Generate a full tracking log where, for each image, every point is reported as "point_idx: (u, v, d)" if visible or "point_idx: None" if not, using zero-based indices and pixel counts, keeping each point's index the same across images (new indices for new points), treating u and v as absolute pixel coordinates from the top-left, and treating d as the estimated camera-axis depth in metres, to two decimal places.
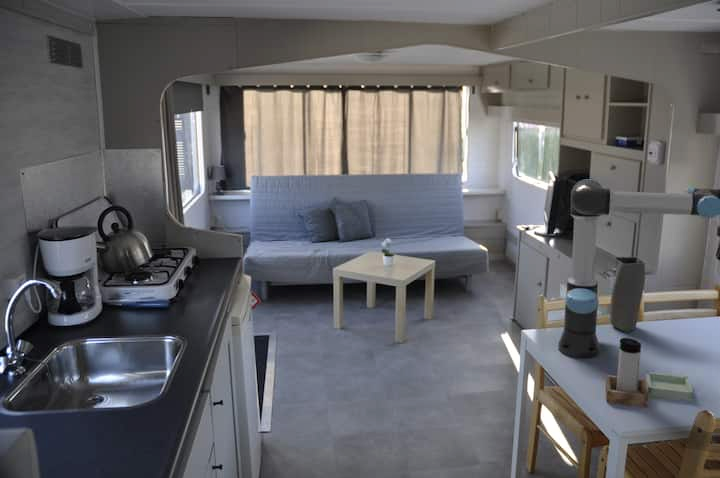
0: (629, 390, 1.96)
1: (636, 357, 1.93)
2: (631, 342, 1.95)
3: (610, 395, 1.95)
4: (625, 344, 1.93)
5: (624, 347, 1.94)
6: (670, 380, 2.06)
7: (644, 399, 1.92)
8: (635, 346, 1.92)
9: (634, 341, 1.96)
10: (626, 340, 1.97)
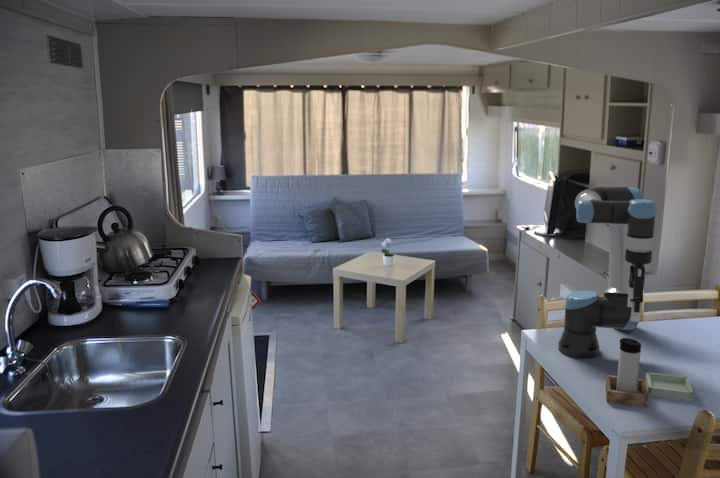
0: (629, 390, 1.96)
1: (636, 357, 1.93)
2: (631, 342, 1.95)
3: (610, 395, 1.95)
4: (625, 344, 1.93)
5: (624, 347, 1.94)
6: (670, 380, 2.06)
7: (644, 399, 1.92)
8: (635, 346, 1.92)
9: (634, 341, 1.96)
10: (626, 340, 1.97)
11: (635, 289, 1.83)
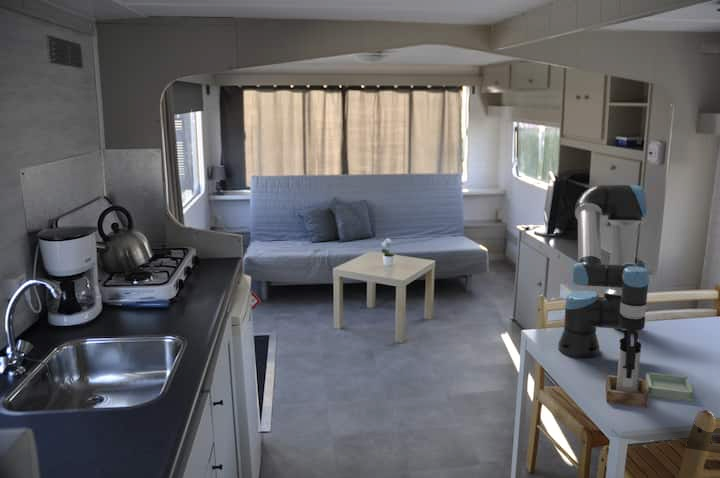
0: (629, 390, 1.96)
1: (636, 357, 1.93)
2: None
3: (610, 395, 1.95)
4: None
5: (624, 347, 1.94)
6: (670, 380, 2.06)
7: (644, 399, 1.92)
8: None
9: None
10: None
11: (627, 358, 1.90)
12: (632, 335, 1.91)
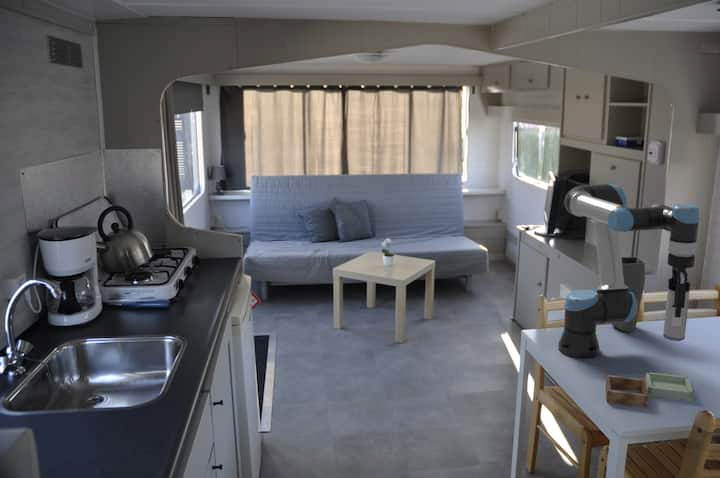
0: (678, 330, 1.94)
1: (685, 296, 1.92)
2: None
3: (610, 395, 1.95)
4: None
5: (673, 286, 1.92)
6: (670, 380, 2.06)
7: (644, 399, 1.92)
8: None
9: None
10: None
11: (677, 296, 1.89)
12: (682, 273, 1.89)
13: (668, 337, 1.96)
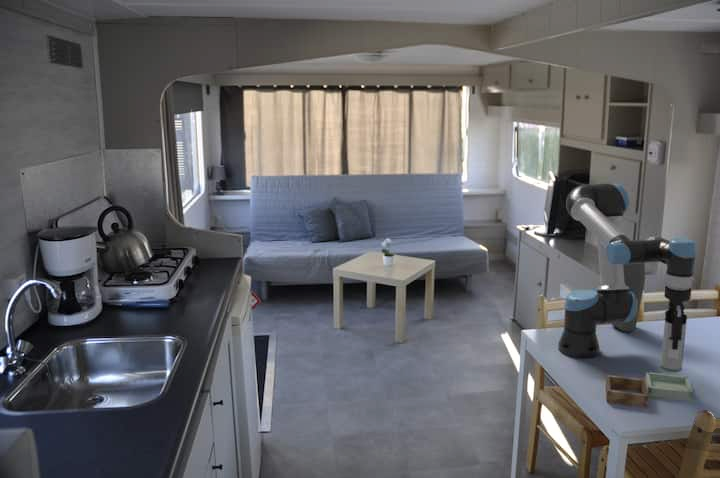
0: (675, 362, 1.97)
1: (682, 328, 1.94)
2: None
3: (610, 395, 1.95)
4: None
5: (670, 319, 1.95)
6: (670, 380, 2.06)
7: (644, 399, 1.92)
8: None
9: None
10: None
11: (674, 329, 1.91)
12: (678, 306, 1.92)
13: (665, 368, 1.99)
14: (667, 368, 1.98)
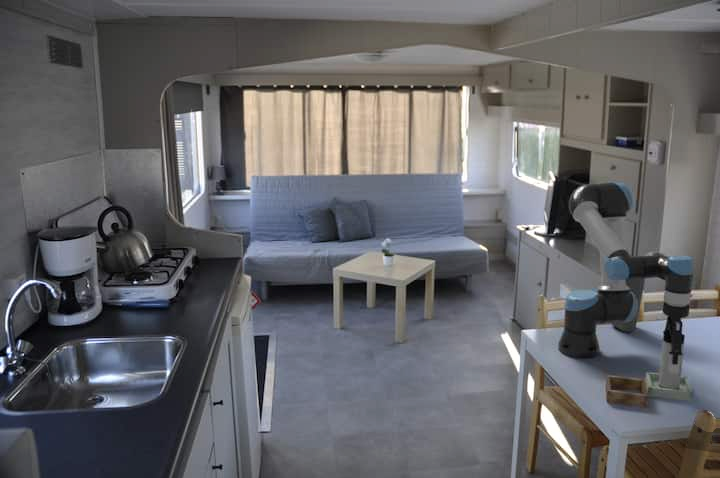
0: (673, 381, 1.99)
1: None
2: None
3: (610, 395, 1.95)
4: (669, 335, 1.96)
5: (668, 338, 1.97)
6: None
7: (644, 399, 1.92)
8: None
9: None
10: None
11: (674, 342, 1.90)
12: (677, 321, 1.93)
13: (663, 387, 2.01)
14: (665, 387, 2.00)
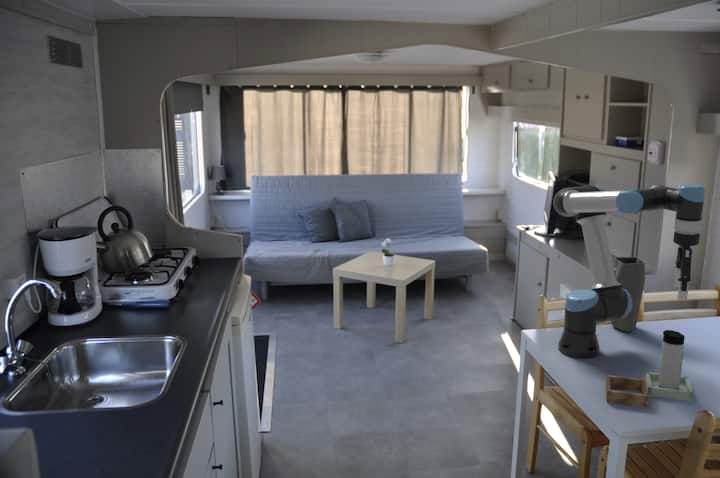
0: (673, 381, 1.98)
1: (679, 348, 1.96)
2: (674, 334, 1.98)
3: (610, 395, 1.95)
4: (669, 336, 1.96)
5: (668, 339, 1.97)
6: None
7: (644, 399, 1.92)
8: (679, 338, 1.95)
9: (677, 333, 1.99)
10: (669, 332, 1.99)
11: (683, 269, 1.93)
12: (687, 249, 1.96)
13: None
14: (665, 387, 2.00)
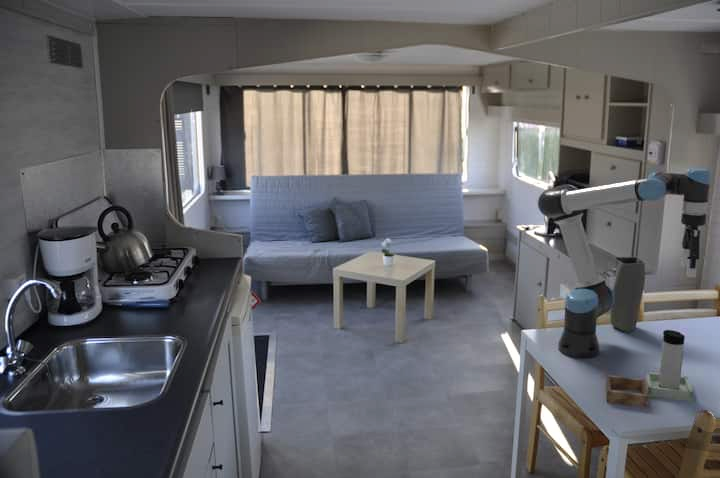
0: (673, 381, 1.98)
1: (680, 348, 1.96)
2: (674, 334, 1.98)
3: (610, 395, 1.95)
4: (669, 336, 1.96)
5: (668, 339, 1.97)
6: None
7: (644, 399, 1.92)
8: (679, 338, 1.95)
9: (677, 333, 1.99)
10: (669, 332, 2.00)
11: (692, 247, 2.06)
12: (694, 229, 2.08)
13: None
14: (665, 387, 2.00)
